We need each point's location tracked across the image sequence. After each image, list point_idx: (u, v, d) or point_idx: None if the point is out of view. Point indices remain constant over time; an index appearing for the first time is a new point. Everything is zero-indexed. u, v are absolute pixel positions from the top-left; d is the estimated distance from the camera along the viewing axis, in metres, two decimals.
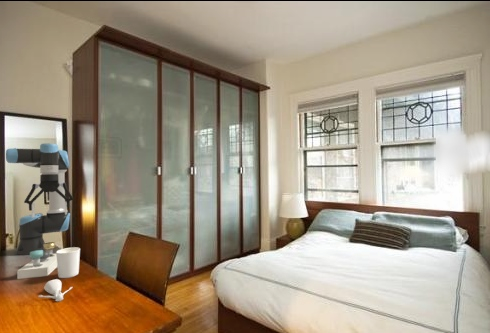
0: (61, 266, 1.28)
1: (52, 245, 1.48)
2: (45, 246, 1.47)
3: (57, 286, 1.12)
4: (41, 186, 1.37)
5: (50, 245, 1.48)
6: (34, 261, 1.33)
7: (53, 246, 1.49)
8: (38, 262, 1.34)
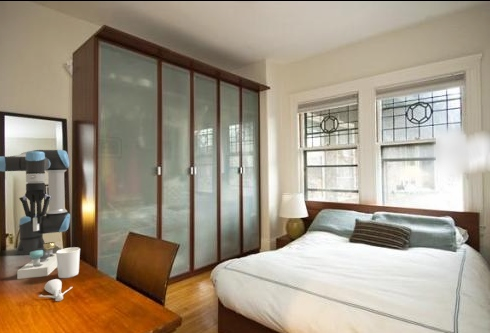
0: (61, 266, 1.28)
1: (52, 245, 1.48)
2: (45, 246, 1.47)
3: (57, 286, 1.12)
4: (27, 195, 1.33)
5: (50, 245, 1.48)
6: (34, 261, 1.33)
7: (53, 246, 1.49)
8: (38, 262, 1.34)
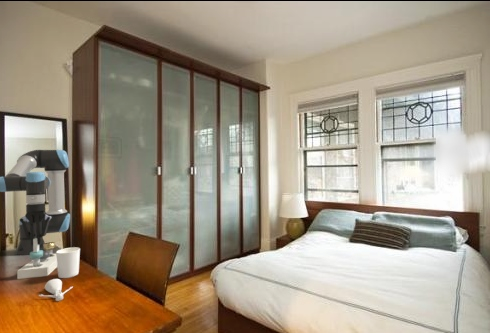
0: (61, 266, 1.28)
1: (52, 245, 1.48)
2: (45, 246, 1.47)
3: (57, 285, 1.13)
4: (28, 216, 1.33)
5: (50, 245, 1.48)
6: (34, 261, 1.33)
7: (53, 246, 1.49)
8: (38, 262, 1.34)
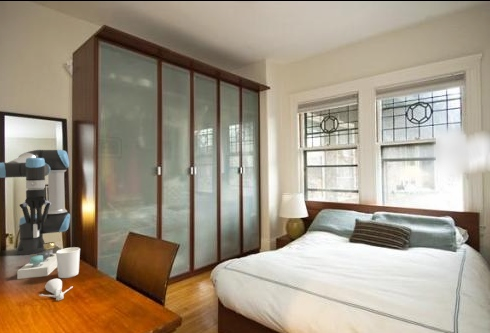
0: (61, 266, 1.28)
1: (52, 245, 1.48)
2: (45, 246, 1.47)
3: (57, 285, 1.13)
4: (27, 202, 1.33)
5: (50, 245, 1.48)
6: (34, 266, 1.33)
7: (53, 246, 1.49)
8: None
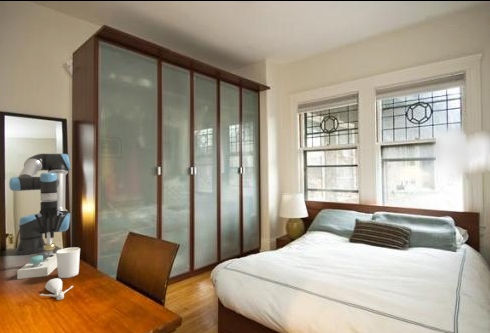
0: (61, 266, 1.28)
1: (52, 246, 1.48)
2: (45, 247, 1.47)
3: (58, 285, 1.13)
4: (42, 212, 1.48)
5: (50, 246, 1.48)
6: (34, 266, 1.33)
7: (53, 247, 1.49)
8: None
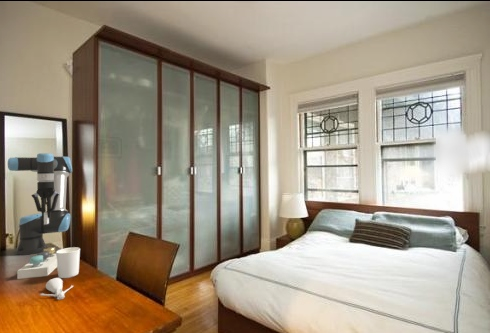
0: (61, 266, 1.28)
1: (52, 250, 1.48)
2: None
3: (58, 284, 1.14)
4: (39, 192, 1.49)
5: (50, 250, 1.48)
6: (34, 266, 1.33)
7: (53, 251, 1.49)
8: None
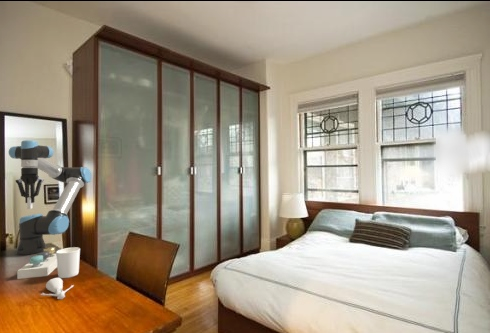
0: (61, 266, 1.28)
1: (52, 250, 1.48)
2: None
3: (58, 284, 1.14)
4: (22, 178, 1.55)
5: (50, 250, 1.48)
6: (34, 266, 1.33)
7: (53, 251, 1.49)
8: None
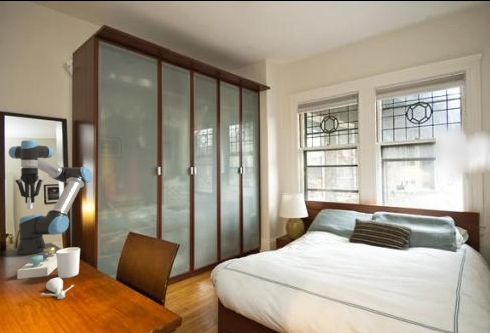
0: (61, 266, 1.28)
1: (52, 250, 1.48)
2: None
3: (58, 284, 1.14)
4: (22, 178, 1.55)
5: (50, 250, 1.48)
6: (34, 266, 1.33)
7: (53, 251, 1.49)
8: None
